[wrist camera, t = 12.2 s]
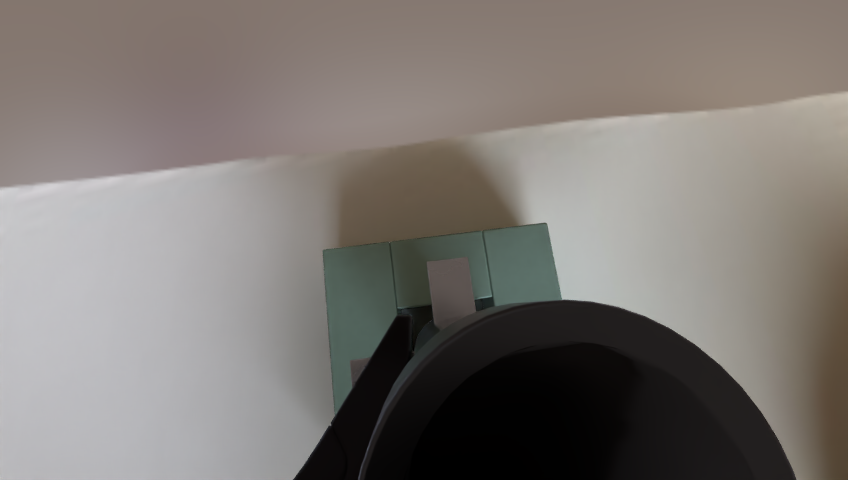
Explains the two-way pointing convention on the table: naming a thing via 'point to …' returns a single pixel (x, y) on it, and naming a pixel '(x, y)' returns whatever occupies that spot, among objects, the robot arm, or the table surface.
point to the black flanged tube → (561, 398)
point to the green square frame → (425, 284)
